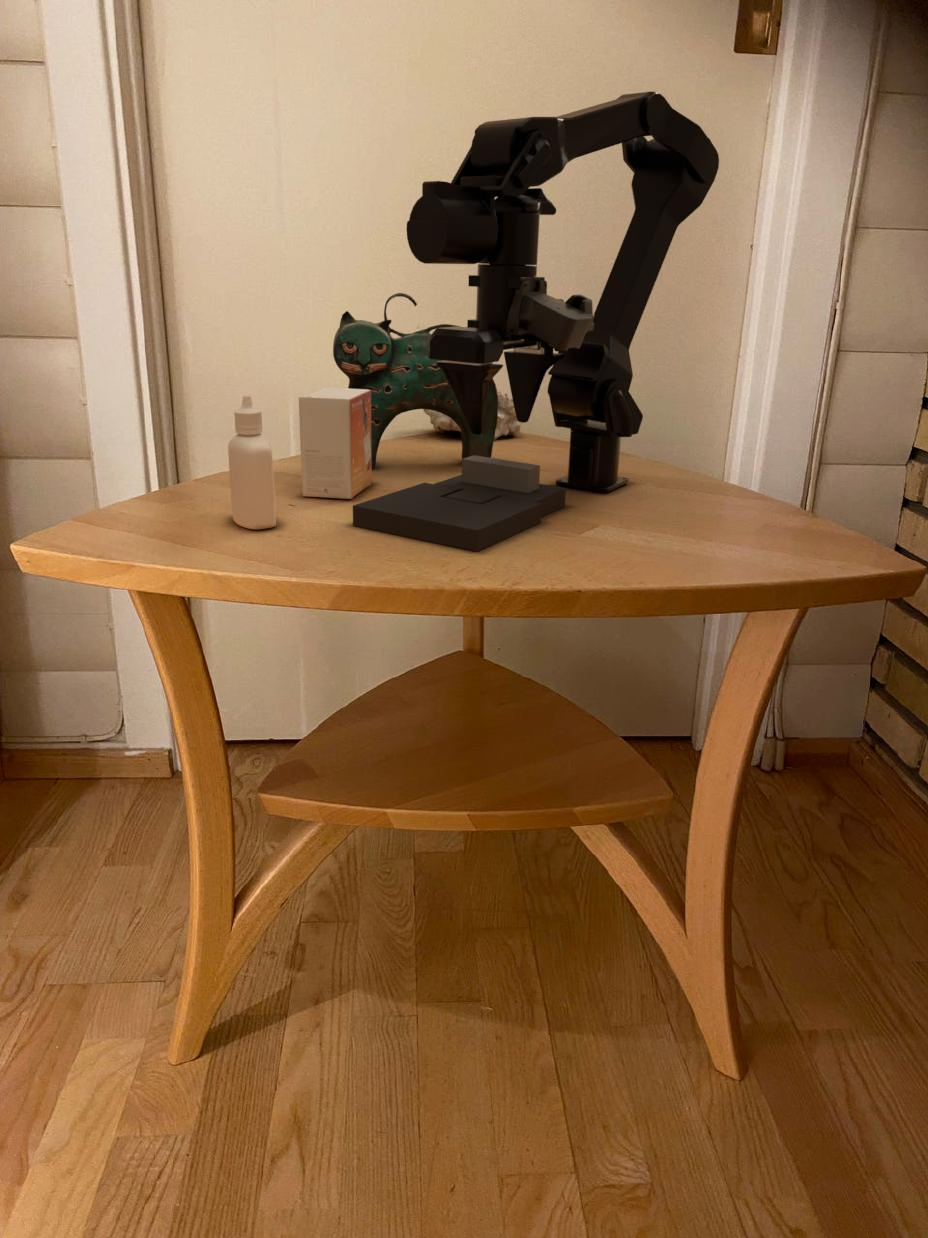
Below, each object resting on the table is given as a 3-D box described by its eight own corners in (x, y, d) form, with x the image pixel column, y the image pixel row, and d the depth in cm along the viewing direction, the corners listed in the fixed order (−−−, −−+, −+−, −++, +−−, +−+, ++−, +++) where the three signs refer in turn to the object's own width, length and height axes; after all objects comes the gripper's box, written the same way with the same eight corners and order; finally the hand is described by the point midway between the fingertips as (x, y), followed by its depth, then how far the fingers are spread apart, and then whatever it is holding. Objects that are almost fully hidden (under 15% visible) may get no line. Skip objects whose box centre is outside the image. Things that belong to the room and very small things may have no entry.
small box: (351, 500, 101) (349, 399, 97) (300, 497, 102) (297, 396, 98) (373, 483, 108) (372, 388, 104) (326, 480, 109) (323, 385, 105)
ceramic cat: (337, 472, 113) (333, 292, 105) (331, 460, 118) (326, 289, 111) (500, 467, 117) (507, 295, 110) (486, 456, 123) (492, 292, 116)
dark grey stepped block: (468, 489, 106) (469, 449, 105) (565, 506, 101) (567, 464, 99) (412, 509, 98) (412, 465, 96) (514, 529, 92) (516, 483, 90)
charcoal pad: (424, 500, 101) (424, 482, 101) (541, 522, 94) (542, 502, 94) (352, 525, 92) (352, 505, 91) (476, 551, 85) (477, 530, 84)
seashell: (420, 421, 130) (432, 353, 132) (413, 445, 139) (424, 381, 141) (523, 442, 132) (534, 375, 133) (510, 465, 141) (520, 401, 143)
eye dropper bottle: (279, 515, 95) (273, 391, 90) (275, 531, 90) (268, 400, 85) (234, 515, 94) (226, 391, 90) (227, 531, 89) (218, 400, 85)
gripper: (534, 268, 81) (525, 452, 86) (624, 267, 96) (611, 425, 101) (425, 263, 86) (423, 437, 92) (526, 263, 101) (519, 413, 107)
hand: (500, 427), depth 98 cm, fingers open, 9 cm apart
